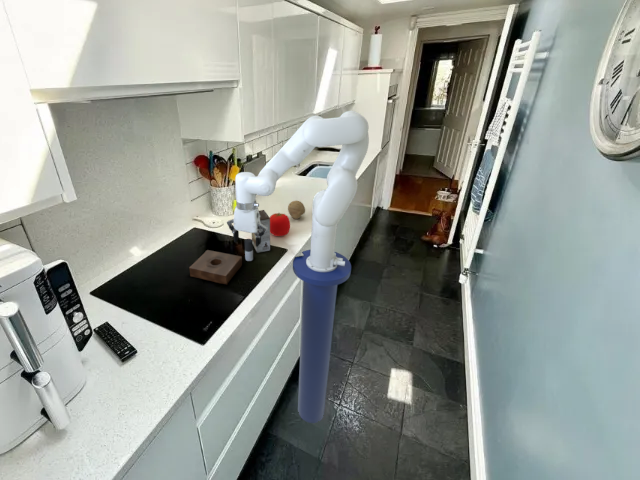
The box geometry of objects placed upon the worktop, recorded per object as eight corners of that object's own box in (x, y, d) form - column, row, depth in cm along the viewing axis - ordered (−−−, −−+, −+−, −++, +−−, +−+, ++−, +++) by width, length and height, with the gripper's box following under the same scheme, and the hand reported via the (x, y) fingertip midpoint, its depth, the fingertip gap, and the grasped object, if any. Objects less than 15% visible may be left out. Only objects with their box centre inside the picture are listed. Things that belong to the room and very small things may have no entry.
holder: (242, 264, 126) (241, 256, 124) (226, 284, 115) (225, 275, 113) (208, 257, 132) (207, 249, 130) (190, 276, 120) (189, 267, 119)
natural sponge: (297, 213, 170) (298, 196, 165) (308, 219, 163) (309, 201, 159) (284, 217, 165) (284, 200, 161) (295, 223, 159) (295, 205, 154)
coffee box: (251, 243, 142) (250, 211, 135) (264, 240, 143) (263, 209, 136) (257, 253, 134) (256, 220, 127) (271, 250, 136) (270, 217, 128)
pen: (254, 257, 131) (253, 239, 127) (251, 261, 128) (250, 242, 124) (247, 256, 132) (246, 238, 128) (244, 260, 129) (243, 241, 125)
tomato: (289, 240, 143) (289, 219, 138) (266, 238, 145) (266, 218, 140) (291, 230, 152) (291, 210, 148) (270, 228, 154) (269, 209, 150)
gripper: (270, 204, 119) (270, 242, 127) (230, 198, 125) (232, 235, 133) (263, 211, 113) (263, 251, 121) (221, 204, 119) (224, 243, 126)
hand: (247, 242), depth 127 cm, fingers open, 9 cm apart
